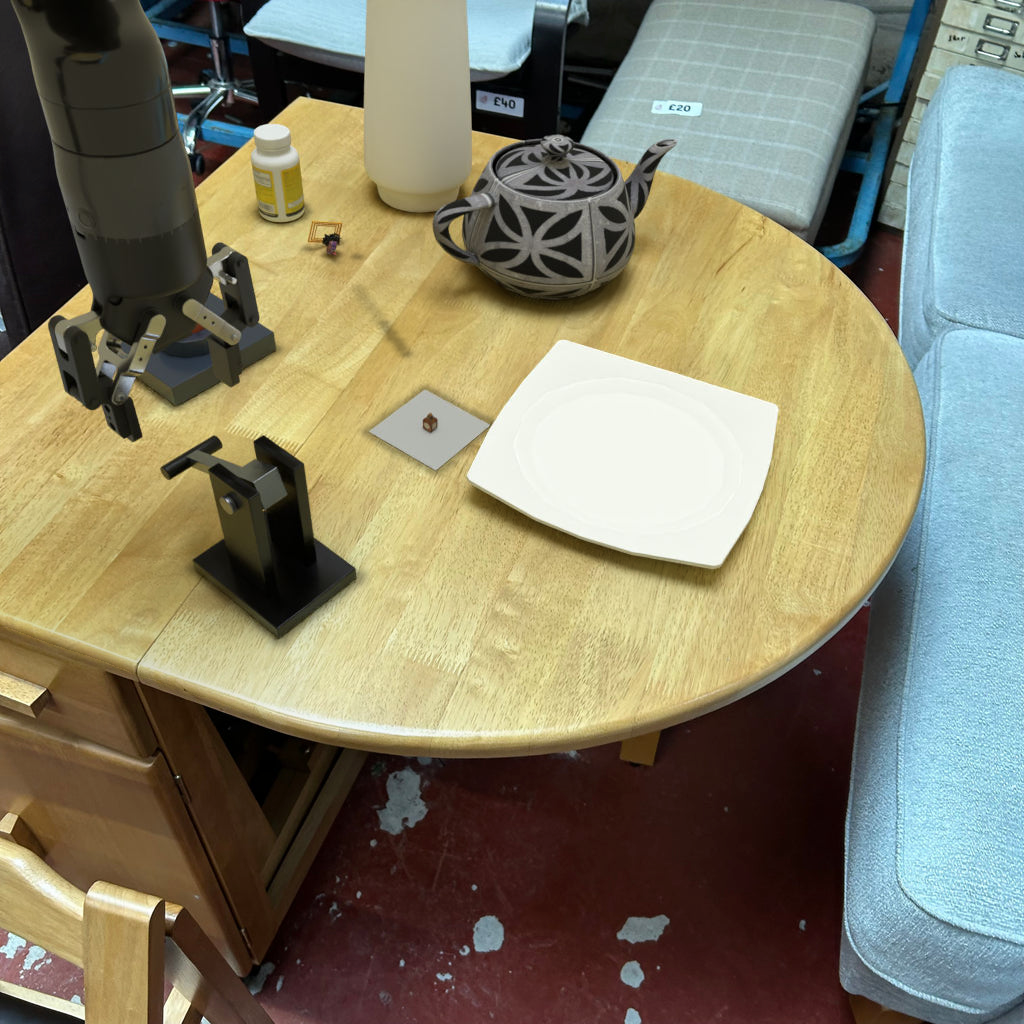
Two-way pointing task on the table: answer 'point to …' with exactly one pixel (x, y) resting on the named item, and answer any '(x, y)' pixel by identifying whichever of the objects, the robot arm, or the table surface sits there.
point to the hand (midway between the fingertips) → (180, 407)
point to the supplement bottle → (277, 174)
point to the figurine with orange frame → (327, 236)
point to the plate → (629, 456)
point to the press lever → (252, 473)
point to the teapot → (551, 216)
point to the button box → (199, 359)
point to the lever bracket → (271, 547)
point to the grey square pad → (429, 429)
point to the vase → (417, 102)
